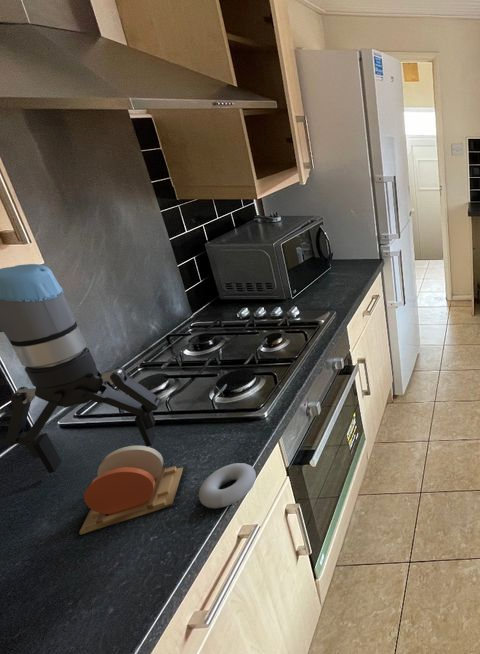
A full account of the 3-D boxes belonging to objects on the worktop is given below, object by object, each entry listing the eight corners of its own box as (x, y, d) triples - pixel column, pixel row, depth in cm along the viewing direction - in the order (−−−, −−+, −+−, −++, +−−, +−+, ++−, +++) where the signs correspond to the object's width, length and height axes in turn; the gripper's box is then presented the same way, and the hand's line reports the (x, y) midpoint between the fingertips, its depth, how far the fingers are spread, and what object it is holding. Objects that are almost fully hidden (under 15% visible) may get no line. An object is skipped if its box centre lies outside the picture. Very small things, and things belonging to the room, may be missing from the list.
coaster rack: (80, 534, 77) (76, 528, 77) (100, 493, 86) (97, 486, 85) (172, 505, 83) (169, 499, 83) (183, 468, 92) (180, 462, 91)
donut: (252, 463, 93) (198, 487, 87) (249, 452, 92) (193, 475, 86) (262, 493, 86) (203, 522, 80) (258, 481, 85) (199, 509, 79)
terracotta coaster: (95, 522, 79) (74, 484, 75) (98, 517, 80) (77, 479, 76) (160, 501, 83) (143, 464, 80) (162, 496, 84) (145, 459, 81)
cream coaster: (107, 497, 84) (89, 459, 80) (109, 492, 85) (91, 455, 81) (168, 479, 88) (153, 443, 85) (169, 475, 89) (155, 439, 86)
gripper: (156, 329, 77) (191, 419, 85) (-37, 364, 66) (23, 463, 75) (144, 349, 70) (183, 444, 78) (-71, 391, 60) (-2, 496, 68)
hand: (105, 453), depth 76 cm, fingers open, 13 cm apart
